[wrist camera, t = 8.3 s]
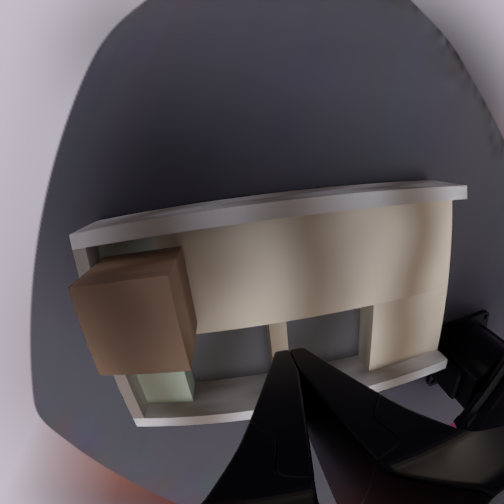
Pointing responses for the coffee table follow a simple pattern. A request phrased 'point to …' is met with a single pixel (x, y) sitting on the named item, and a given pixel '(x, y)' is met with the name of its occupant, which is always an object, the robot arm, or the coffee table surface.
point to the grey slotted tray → (293, 289)
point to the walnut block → (138, 312)
